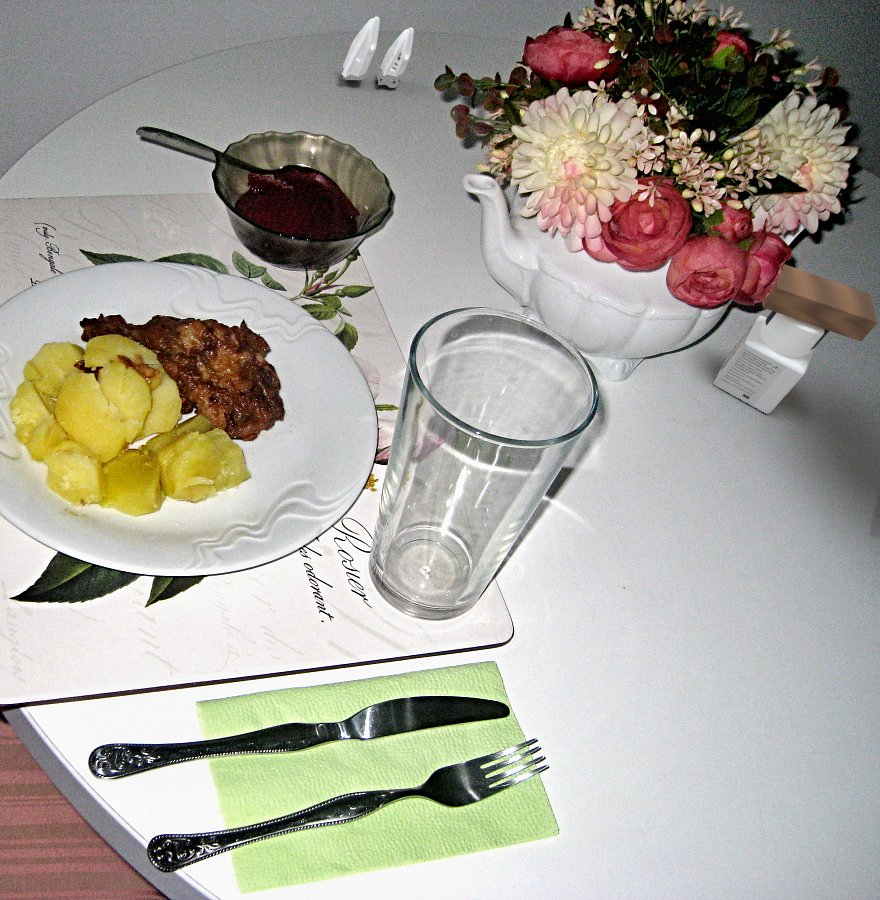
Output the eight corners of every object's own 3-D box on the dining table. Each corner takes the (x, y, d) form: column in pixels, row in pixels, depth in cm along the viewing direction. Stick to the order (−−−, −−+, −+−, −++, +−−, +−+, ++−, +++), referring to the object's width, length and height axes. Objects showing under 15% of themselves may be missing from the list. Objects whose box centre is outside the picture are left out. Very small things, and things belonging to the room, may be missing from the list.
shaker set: (339, 88, 149) (356, 22, 141) (332, 75, 152) (348, 9, 144) (404, 91, 153) (424, 27, 145) (395, 79, 156) (415, 15, 147)
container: (726, 356, 121) (785, 281, 111) (781, 386, 119) (845, 312, 109) (711, 384, 116) (771, 308, 107) (767, 416, 114) (834, 341, 105)
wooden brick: (853, 312, 110) (870, 293, 107) (860, 341, 106) (878, 322, 103) (758, 279, 110) (773, 260, 108) (762, 307, 106) (777, 288, 104)
